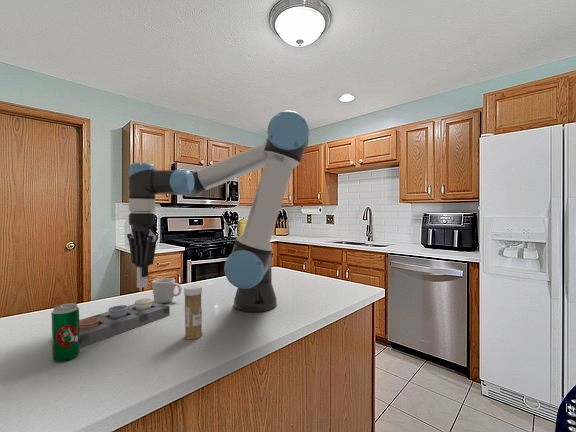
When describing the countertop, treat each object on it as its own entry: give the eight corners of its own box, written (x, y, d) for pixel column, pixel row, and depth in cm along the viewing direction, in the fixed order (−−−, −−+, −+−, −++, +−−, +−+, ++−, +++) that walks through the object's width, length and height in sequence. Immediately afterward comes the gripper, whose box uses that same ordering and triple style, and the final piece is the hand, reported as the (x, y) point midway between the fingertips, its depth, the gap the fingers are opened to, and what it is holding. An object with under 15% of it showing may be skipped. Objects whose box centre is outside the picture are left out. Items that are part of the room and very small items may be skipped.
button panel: (169, 315, 94) (169, 306, 94) (79, 348, 72) (78, 336, 72) (146, 309, 100) (146, 300, 100) (56, 337, 78) (56, 326, 78)
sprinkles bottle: (201, 338, 77) (201, 288, 77) (183, 340, 76) (183, 289, 76) (202, 331, 81) (202, 283, 81) (185, 333, 80) (185, 284, 80)
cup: (186, 298, 112) (185, 278, 112) (176, 305, 104) (175, 283, 104) (159, 298, 113) (159, 277, 113) (147, 304, 105) (147, 282, 105)
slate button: (131, 316, 87) (131, 306, 87) (114, 322, 83) (114, 311, 83) (122, 313, 90) (121, 304, 89) (105, 319, 85) (104, 309, 85)
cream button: (155, 309, 94) (155, 299, 94) (141, 313, 90) (141, 304, 90) (146, 306, 96) (146, 297, 96) (131, 311, 92) (131, 301, 92)
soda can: (62, 352, 70) (61, 302, 69) (84, 351, 70) (83, 302, 70) (46, 363, 65) (45, 310, 64) (70, 362, 65) (69, 309, 65)
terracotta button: (103, 330, 80) (103, 319, 80) (83, 336, 76) (83, 325, 76) (93, 326, 83) (93, 315, 83) (73, 332, 78) (73, 321, 78)
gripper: (166, 212, 92) (165, 287, 93) (141, 212, 99) (141, 281, 99) (143, 213, 86) (143, 292, 86) (118, 212, 92) (118, 286, 93)
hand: (142, 286), depth 93 cm, fingers closed
